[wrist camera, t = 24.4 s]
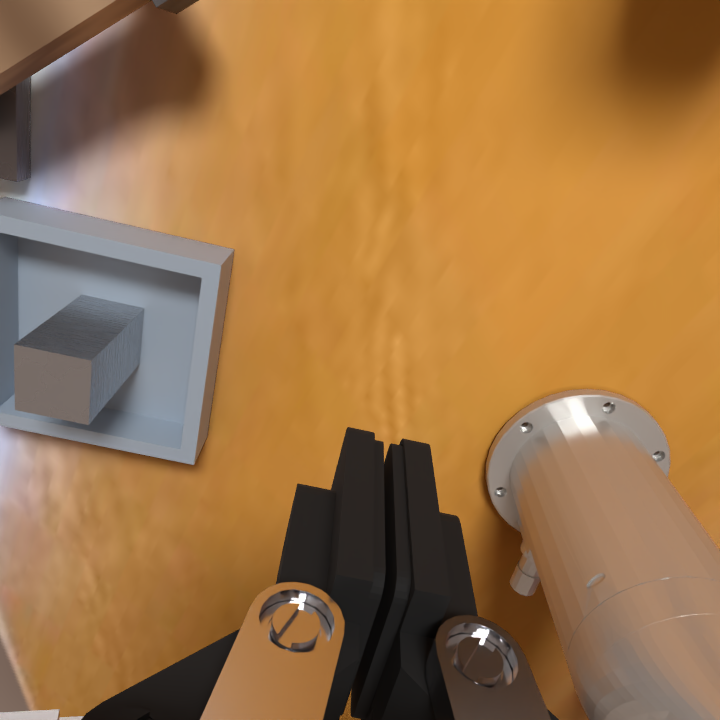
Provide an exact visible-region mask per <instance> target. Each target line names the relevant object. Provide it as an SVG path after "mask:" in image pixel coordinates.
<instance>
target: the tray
mask: <svg viewBox="0 0 720 720" xmlns="http://www.w3.org/2000/svg"><path fill="white" fill-rule="evenodd" d="M233 256H234V249H230V248H226V247H221V246H217V245H213V244H208V243H204V242H200V241H195V240H191V239H187V238H182V237H178V236H173V235H169V234H165V233H160V232H156V231H152V230H147V229H143V228H139V227H134V226H130V225H126V224H121V223H117V222H112V221H108V220H104V219H99V218H95V217H91V216H86V215H82V214H78V213H73V212H69V211H64V210H60V209H56V208H51V207H47V206H43V205H38V204H34V203H30V202H25V201H21V200H16V199H12V198H8V197H3V198H0V426H4V427H9V428H14V429H19V430H24V431H29V432H34V433H39V434H44V435H49V436H54V437H58V438H63V439H68V440H73V441H78V442H83V443H88V444H93V445H98V446H103V447H108V448H113V449H118V450H122V451H127V452H132V453H137V454H142V455H147V456H152V457H157V458H162V459H167V460H172V461H177V462H182V463H186V464H191V465H194V464H195V462H196V460H197V457H198V455H199V453H200V451H201V449H202V447H203V445H204V443H205V441H206V438H207V435H208V428H209V421H210V414H211V408H212V401H213V394H214V387H215V380H216V373H217V366H218V359H219V352H220V346H221V339H222V332H223V325H224V318H225V311H226V304H227V297H228V290H229V284H230V277H231V270H232V263H233ZM80 295H87V296H91V297H96V298H100V299H105V300H109V301H114V302H119V303H123V304H128V305H132V306H137V307H141V308H144V320H143V332H142V344H141V356H140V364H139V365H138V366H137V367H136V368H135V370H134V371H133V372H132V373H131V374H130V376H129V377H128V378H127V379H126V381H125V382H124V383H123V384H122V385H121V387H120V388H119V389H118V390H117V391H116V393H115V394H114V395H113V396H112V397H111V399H110V400H109V401H108V402H107V403H106V405H105V406H104V407H103V408H102V410H101V411H100V412H99V413H98V414H97V416H96V417H95V418H94V419H93V420H92V422H91V423H90V424H89V425H86V424H81V423H76V422H71V421H67V420H62V419H57V418H52V417H47V416H42V415H37V414H32V413H27V412H22V411H17V410H15V387H14V344H15V343H16V342H18V341H19V340H21V339H22V338H23V337H25V336H26V335H27V334H29V333H30V332H31V331H33V330H34V329H35V328H37V327H38V326H40V325H41V324H42V323H44V322H45V321H46V320H48V319H49V318H50V317H52V316H53V315H54V314H56V313H57V312H58V311H60V310H61V309H63V308H64V307H65V306H67V305H68V304H69V303H71V302H72V301H73V300H75V299H76V298H77V297H79V296H80Z"/></svg>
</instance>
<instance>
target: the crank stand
mask: <svg viewBox="0 0 720 720" xmlns="http://www.w3.org/2000/svg"><path fill="white" fill-rule="evenodd" d="M0 178H3V179H7V180H12V181H16V182H18V181H21V180H24V179H28V178H30V77H28V78H27V79H25V80H24V81H22V82H20V83H19V84H17V85H16V86H14V87H12V88H11V89H9V90H8V91H6V92H4V93H3V94H1V95H0Z"/></svg>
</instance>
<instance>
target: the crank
mask: <svg viewBox="0 0 720 720" xmlns="http://www.w3.org/2000/svg"><path fill="white" fill-rule="evenodd" d="M150 1H151V0H0V95H1V94H3V93H4V92H6V91H8V90H9V89H11V88H12V87H14V86H16V85H17V84H19V83H20V82H22V81H24V80H25V79H27V78H28V77H30V76H32V75H33V74H35V73H36V72H38V71H40V70H41V69H43V68H44V67H46V66H48V65H49V64H51V63H52V62H54V61H56V60H57V59H59V58H60V57H62V56H64V55H65V54H67V53H68V52H70V51H72V50H73V49H75V48H76V47H78V46H80V45H81V44H83V43H84V42H86V41H88V40H89V39H91V38H92V37H94V36H96V35H97V34H99V33H100V32H102V31H104V30H105V29H107V28H108V27H110V26H112V25H113V24H115V23H116V22H118V21H120V20H121V19H123V18H124V17H126V16H128V15H129V14H131V13H132V12H134V11H136V10H137V9H139V8H140V7H142V6H143V5H145V4H147V3H148V2H150ZM152 1H153V2H154V4H155V6H156V7H157V8H160V9H163V10H166V11H169V12H173V13H176V14H177V13H179V12H181V11H182V10H184V9H186V8H187V7H189V6H190V5H192V4H194V3H195V2H197V1H199V0H152Z"/></svg>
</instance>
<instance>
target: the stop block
mask: <svg viewBox="0 0 720 720" xmlns="http://www.w3.org/2000/svg"><path fill="white" fill-rule="evenodd" d="M143 320H144V308H141V307H137V306H132V305H128V304H123V303H119V302H114V301H109V300H105V299H100V298H96V297H91V296H87V295H80V296H79V297H77V298H76V299H75V300H73V301H72V302H71V303H69V304H68V305H67V306H65V307H64V308H63V309H61V310H60V311H58V312H57V313H56V314H54V315H53V316H52V317H50V318H49V319H48V320H46V321H45V322H44V323H42V324H41V325H40V326H38V327H37V328H35V329H34V330H33V331H31V332H30V333H29V334H27V335H26V336H25V337H23V338H22V339H21V340H19V341H18V342H16V343H15V344H14V387H15V410H17V411H22V412H27V413H32V414H37V415H42V416H47V417H52V418H57V419H62V420H67V421H71V422H76V423H81V424H86V425H89V424H90V423H91V422H92V420H93V419H94V418H95V417H96V416H97V414H98V413H99V412H100V411H101V410H102V408H103V407H104V406H105V405H106V403H107V402H108V401H109V400H110V399H111V397H112V396H113V395H114V394H115V393H116V391H117V390H118V389H119V388H120V387H121V385H122V384H123V383H124V382H125V381H126V379H127V378H128V377H129V376H130V374H131V373H132V372H133V371H134V370H135V368H136V367H137V366H138V365H139V364H140V356H141V344H142V332H143Z"/></svg>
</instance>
